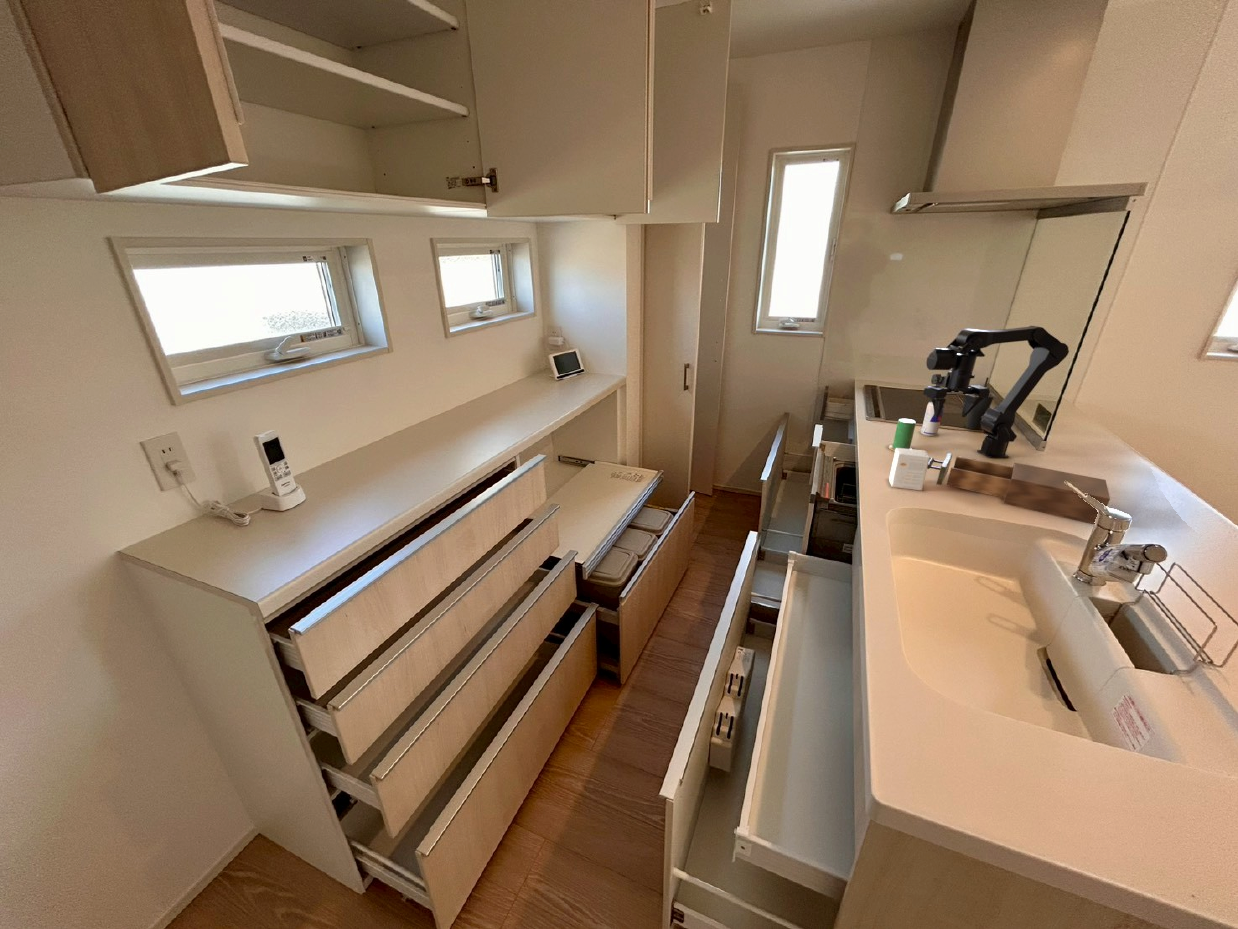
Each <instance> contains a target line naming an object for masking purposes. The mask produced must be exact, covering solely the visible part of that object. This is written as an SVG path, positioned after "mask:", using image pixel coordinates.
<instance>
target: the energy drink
mask: <svg viewBox="0 0 1238 929" xmlns="http://www.w3.org/2000/svg"><path fill="white" fill-rule="evenodd" d="M944 410H945V405H944V406H943V408H942V410H941V413H940V415H939V417H938V418H936V417H935V414H934V408H933V403H932V401H929V402H928V403H927V405H926V409H925V414H924V418H923V420H922V421H923V423H922V426H921V430H920V434H922V435H924V436H927V437H936V436H938V433H939V429H940V425H941V422H942V419H943V414H944Z"/></svg>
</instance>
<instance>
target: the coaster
mask: <svg viewBox="0 0 1238 929" xmlns="http://www.w3.org/2000/svg"><path fill="white" fill-rule="evenodd" d="M892 446H893V444H890V445H888V450H890V451H893V452H895V449H894V448H893V447H892ZM910 449H913V448H912V447H910Z"/></svg>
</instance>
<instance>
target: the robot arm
mask: <svg viewBox="0 0 1238 929" xmlns="http://www.w3.org/2000/svg"><path fill="white" fill-rule="evenodd" d="M1026 341H1027V343H1028V345H1029V346H1030V348H1031V349H1032V351H1031V353H1030V355H1029V364H1028V366H1027V367H1026V368H1025V370H1024V371H1023V373H1022V374H1021V375H1020V377H1019V378H1018V380H1017V381H1016V382H1015V383H1014V384H1013V386H1012V388H1011V389H1010V390H1009V392H1008V393H1007V394H1006V396H1005V397H1004V398H1003V399H1002V401H1001V402H1000V403H999V405H998V406H995V407H994V408H993V407H991V406H990V407H989V408H988V409H987V411H986V413H985V414H984V415H983V416H982V417H981V418H982V420H981V422H980V424H981V429H982V434H984V435H985V437H984V440H983V441H982V444H981V446H980V449H977V452H978V453H980V454H981V455H983V456H986V457H987V458H990V459H1002V458H1003V459H1004V458H1005V459H1009V458H1010V456H1009V455H1008V454H1007V451H1008V447H1009V445H1010V443H1013V442H1015V440H1016V439H1017V437H1018V435H1017V434H1016V433H1015V432H1014V430H1013V429H1012V427H1013V425H1014V424H1015V421H1016V413H1017V411H1018V410H1019V409H1020V407H1021V406H1022V405H1023V404H1024V402H1025V401H1026V400H1027V398H1028V397H1029V395H1030V394H1031V393H1032V392H1033V390H1034V389H1035V387H1037V385H1038V384H1039V382H1040V381H1041V380H1042V378H1043V377H1044V376H1045V374H1046V373H1047V372H1049V371H1051V370H1052V369H1053V368H1055V367H1058V366H1059V365H1060V364H1061V363H1062V362H1063V361H1064V360H1065V359H1066V358H1067V357H1068V355H1069V353H1070V350H1069V346H1068V344H1067V343H1065V342H1061V340H1059V339H1058V338H1057V337H1055V336H1054V335H1052V334H1051V333H1049V332H1048V331H1047V330H1046V329H1045V328H1044V327H1042V326H1038V325H1037V326H1036V325H1029V326H1023V327H1012V328H1003V329H994V330H993V329H992V330H986V329H977V328H976V329H975V328H964V329H962V330H960V331H959V332H958V334H957V335H956V337H955V338H954V339H953V340H952V341H951V342H950V343H949V344H948V345H947V346H946V347H945V348H941V347H934V348H933V349H932V351H931V352H930V353H929V354H928V356H927V357H926V362H925V363H926V368H927V370H929V371H947V373H946V375H944V376H942V374H941V373H935V374H932V375H931V380H930V384H931V385H927V386H925V387H924V389H923V392H922V394H923V395H925V396H926V397H927V398H929V399H930V401H931V402H932V403H933V408H934V414H935V417H936V418H938V417H939V415H940V413H941V410H942V408H943V406H944V407H945V403H946V401H947V399H946V397H947V396H948V395H949V396H950V395H951V396H952V395H954V396H955V395H963V396H964V403H963V407H962V412H961V418H966V417H967V416H968V413H969V412H970V411H971V410H972V409H973V408H974V407H975V406H976V405H977V404H978V403H979V402H980V401H982V400H984V399H985V398H988V397H989V395H990V392H991V390H990V388H988V387H987V386H986V387H984V385H979V384H977V385H973V384H972V385H970V383H971V379H975V377H976V376H975V375H976V374H973V373H974V370H975V366H976V361H977V358H984V357H985V356H986V354H985V353H984V352H983V351H982V349H984V348H988V347H990V346H992V345H997V344H1006V343H1017V342H1026Z"/></svg>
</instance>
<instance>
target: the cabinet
mask: <svg viewBox="0 0 1238 929" xmlns="http://www.w3.org/2000/svg"><path fill="white" fill-rule="evenodd" d="M1012 467H1013V473H1012V478H1011V482H1010V485H1009V488H1008V491H1007V494H1006V497H1005V498H1003V499H1004V500H1003V504H1004V505H1009V506H1014V507H1017V508H1022V509H1027V510H1031V511H1035V512H1039V513H1044V514H1048V515H1053V516H1057V517H1062V518H1066V519H1071V520H1075V521H1079V522H1083V523H1086V524H1087V523H1088V524H1092V525H1095V524H1094V522H1095V519H1096V517H1097V514H1098V512H1097V510H1096V509H1095V508H1093V507H1092V506H1091V505H1090V504H1088V503H1087V502H1085V501H1084V500H1083V498H1080V497H1079V496H1078V494H1077V493H1074V492H1073V490H1071V489H1070V488H1069V487H1067V486H1066V485H1065V484H1064V483H1063V482H1064V481H1065V480H1066V481H1068V482H1072V483H1073V484H1074V485H1075V486H1076V487H1078V488H1079V489H1081V490H1083V492H1085V493H1088V495H1090V496H1091V497H1093V498H1095V499H1096V500H1098V501H1099V502H1100V503H1103V504H1104V505H1105V506H1107V507H1108V505H1109V503H1110V502H1111V501H1110V500H1111V498H1110V497H1111V496H1110V493H1109V487H1108V484H1107V480H1106V479H1103V478H1097V477H1092V476H1088V475H1081V474H1076V473H1071V472H1068V471H1067V472H1066V471H1062V470H1054V469H1051V468H1047V467H1046V468H1045V467H1040V466H1034V465H1029V464H1024V463H1019V462H1014V463H1013V466H1012Z"/></svg>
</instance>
